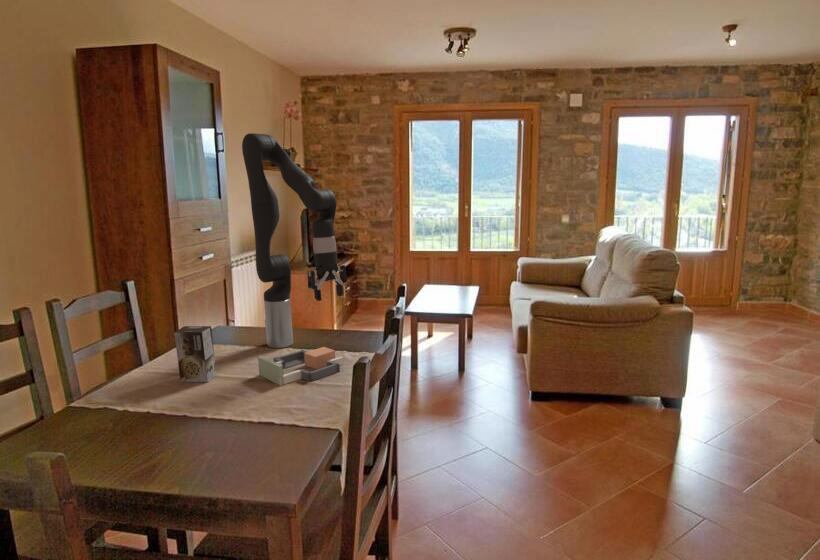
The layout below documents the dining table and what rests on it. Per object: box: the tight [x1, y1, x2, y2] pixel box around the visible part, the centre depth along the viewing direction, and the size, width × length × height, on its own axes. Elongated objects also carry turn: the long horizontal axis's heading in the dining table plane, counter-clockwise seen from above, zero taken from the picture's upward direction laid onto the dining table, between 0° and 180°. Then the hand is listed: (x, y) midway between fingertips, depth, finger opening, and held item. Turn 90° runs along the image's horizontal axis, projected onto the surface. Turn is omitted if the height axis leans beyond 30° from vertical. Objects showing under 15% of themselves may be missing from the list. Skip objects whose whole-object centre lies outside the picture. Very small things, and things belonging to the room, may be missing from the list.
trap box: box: [257, 349, 345, 387], centre depth 170 cm, size 20×24×6 cm
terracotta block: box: [304, 346, 336, 370], centre depth 175 cm, size 6×8×4 cm
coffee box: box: [173, 325, 217, 383], centre depth 164 cm, size 9×6×16 cm
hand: (329, 298), depth 179 cm, fingers open, 8 cm apart
